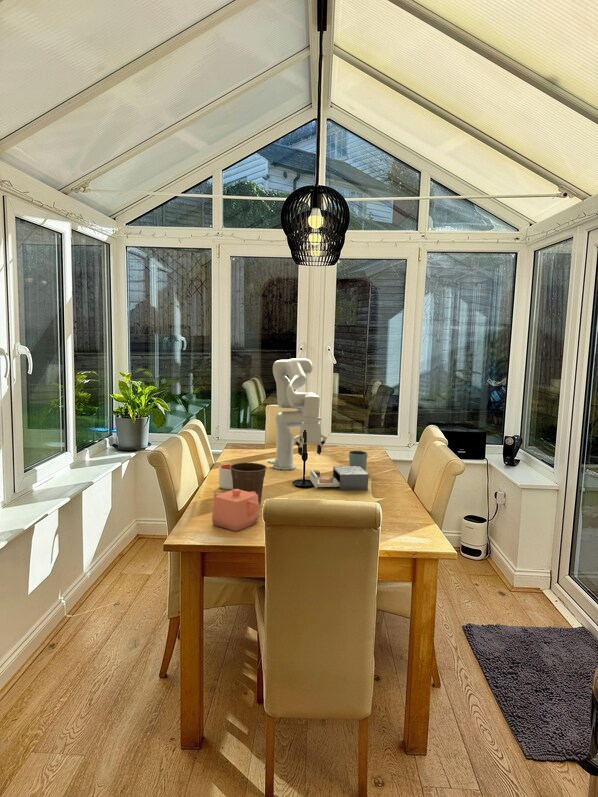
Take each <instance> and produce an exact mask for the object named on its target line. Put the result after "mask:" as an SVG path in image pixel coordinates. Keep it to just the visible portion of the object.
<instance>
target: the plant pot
mask: <svg viewBox="0 0 598 797" xmlns="http://www.w3.org/2000/svg"><path fill="white" fill-rule="evenodd" d="M230 465H231V466H230V469H231V476H232V481H233V489H240V490H243V491H247V492H250V491H254V492H256V494H257V495H258V504H259V505H260V504H261V502H262V495H263V487H264V480H265V477H266V471H267V469H268V467H267V465H265V464H261V463H257V462H237V463H232V464H230ZM233 489H232V490H233Z"/></svg>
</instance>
